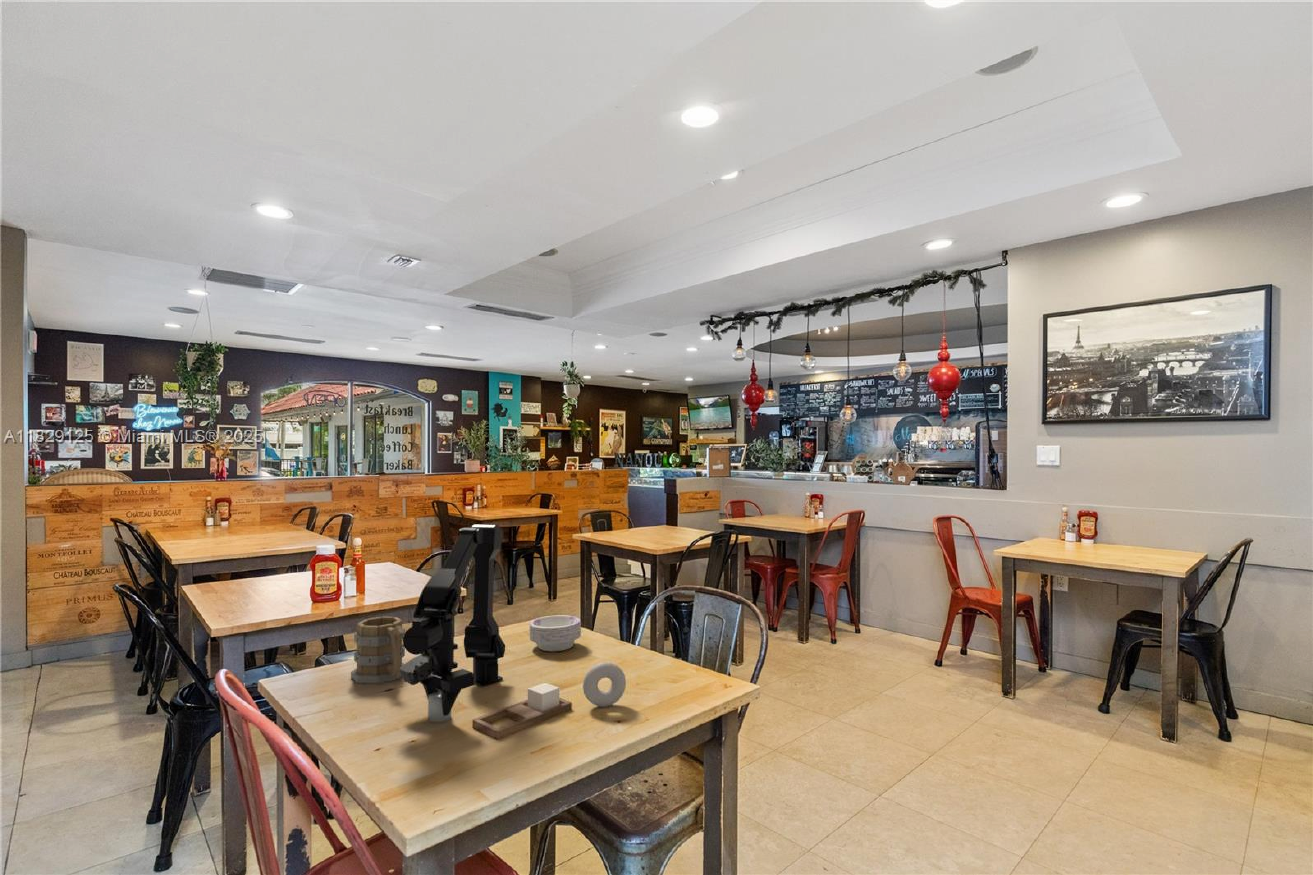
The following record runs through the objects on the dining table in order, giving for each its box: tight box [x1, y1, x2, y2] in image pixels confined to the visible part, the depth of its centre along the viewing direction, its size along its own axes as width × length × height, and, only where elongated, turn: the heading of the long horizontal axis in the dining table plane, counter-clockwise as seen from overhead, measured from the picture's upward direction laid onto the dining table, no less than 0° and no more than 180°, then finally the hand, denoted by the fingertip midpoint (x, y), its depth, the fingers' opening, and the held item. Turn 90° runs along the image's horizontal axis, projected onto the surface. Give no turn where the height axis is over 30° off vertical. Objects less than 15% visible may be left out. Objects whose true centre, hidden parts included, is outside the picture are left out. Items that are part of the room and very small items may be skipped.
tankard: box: [350, 616, 406, 685], centre depth 167 cm, size 20×13×15 cm, turn 42°
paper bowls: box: [528, 614, 582, 652], centre depth 193 cm, size 15×15×8 cm
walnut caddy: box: [472, 697, 573, 740], centre depth 142 cm, size 9×20×2 cm, turn 139°
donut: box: [582, 661, 627, 708], centre depth 149 cm, size 10×4×10 cm, turn 105°
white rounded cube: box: [527, 682, 560, 712], centre depth 146 cm, size 5×5×5 cm
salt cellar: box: [427, 691, 452, 723], centre depth 142 cm, size 5×5×5 cm
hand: (439, 712), depth 142 cm, fingers closed on salt cellar, 5 cm apart
